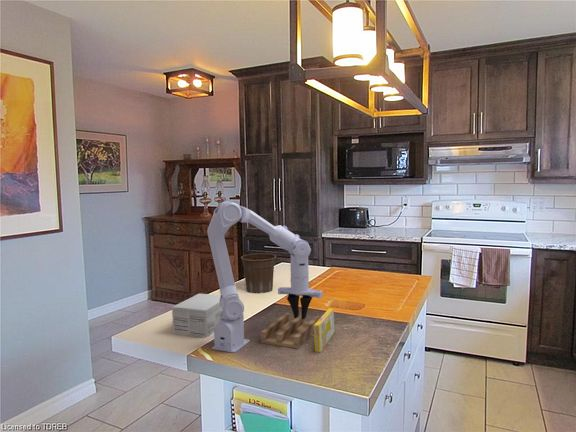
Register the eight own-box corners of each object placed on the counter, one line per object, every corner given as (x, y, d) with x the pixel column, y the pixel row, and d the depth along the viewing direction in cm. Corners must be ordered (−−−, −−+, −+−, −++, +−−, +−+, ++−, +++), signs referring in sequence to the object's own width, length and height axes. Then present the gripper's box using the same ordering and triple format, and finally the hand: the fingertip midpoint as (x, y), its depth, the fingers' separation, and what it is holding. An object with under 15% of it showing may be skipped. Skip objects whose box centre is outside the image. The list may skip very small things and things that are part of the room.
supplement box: (199, 317, 150) (198, 292, 149) (230, 320, 146) (230, 295, 145) (172, 333, 134) (170, 306, 133) (206, 337, 130) (205, 309, 129)
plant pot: (268, 296, 176) (267, 260, 174) (235, 293, 181) (234, 258, 180) (281, 287, 191) (281, 254, 190) (251, 285, 196) (250, 252, 195)
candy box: (328, 332, 132) (328, 308, 132) (335, 333, 132) (334, 308, 131) (313, 351, 117) (313, 324, 117) (320, 352, 117) (320, 325, 116)
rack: (298, 348, 119) (298, 337, 119) (260, 342, 124) (260, 331, 124) (319, 326, 138) (319, 316, 137) (286, 322, 143) (286, 312, 142)
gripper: (325, 275, 129) (325, 316, 130) (283, 272, 135) (284, 311, 136) (318, 280, 123) (318, 323, 124) (275, 276, 128) (275, 318, 129)
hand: (300, 317), depth 129 cm, fingers closed
